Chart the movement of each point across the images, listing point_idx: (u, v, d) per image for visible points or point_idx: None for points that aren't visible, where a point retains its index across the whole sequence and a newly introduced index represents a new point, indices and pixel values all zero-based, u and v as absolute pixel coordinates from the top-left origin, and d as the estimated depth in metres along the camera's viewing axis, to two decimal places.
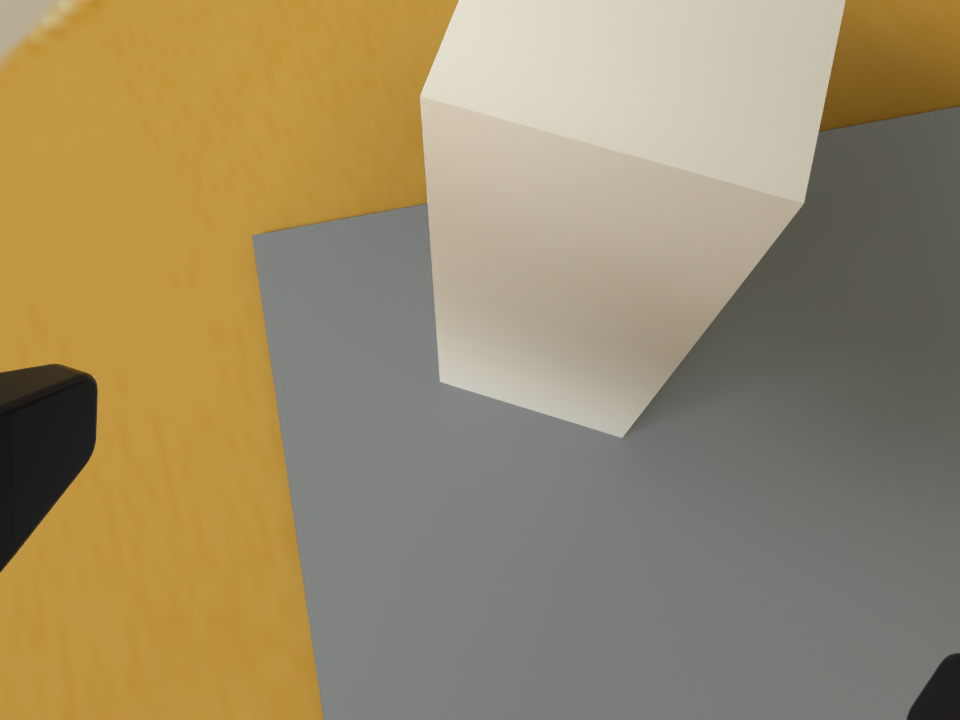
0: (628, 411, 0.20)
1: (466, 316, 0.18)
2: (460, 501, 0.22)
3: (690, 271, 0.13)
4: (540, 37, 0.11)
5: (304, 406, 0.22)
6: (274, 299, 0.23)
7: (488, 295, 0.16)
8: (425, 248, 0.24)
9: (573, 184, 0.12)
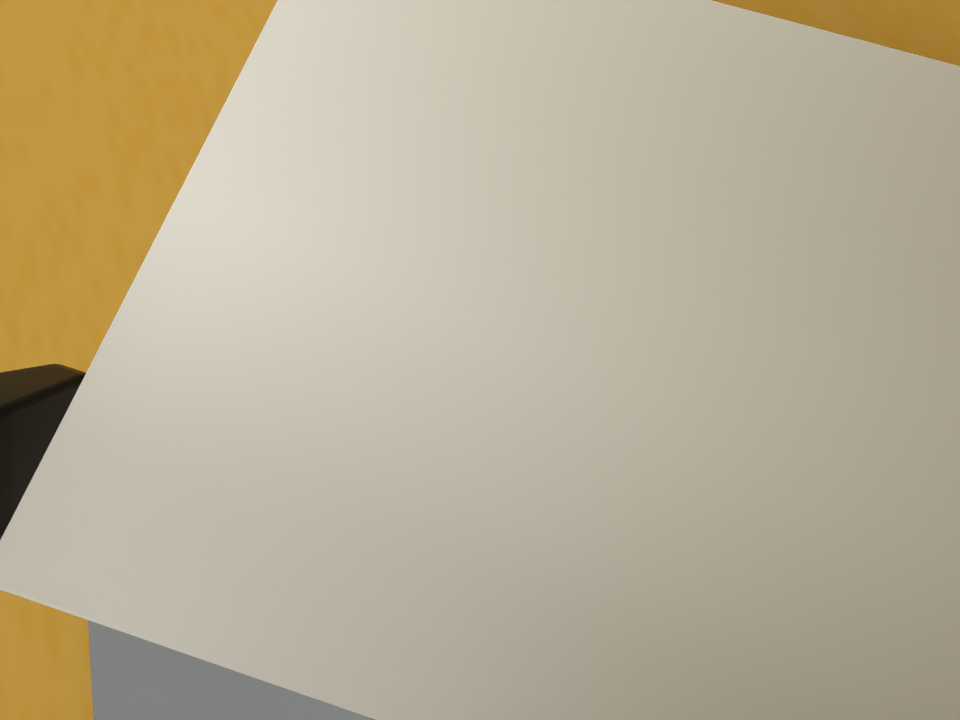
0: None
1: None
2: None
3: None
4: (298, 406, 0.05)
5: (130, 676, 0.16)
6: None
7: None
8: None
9: None
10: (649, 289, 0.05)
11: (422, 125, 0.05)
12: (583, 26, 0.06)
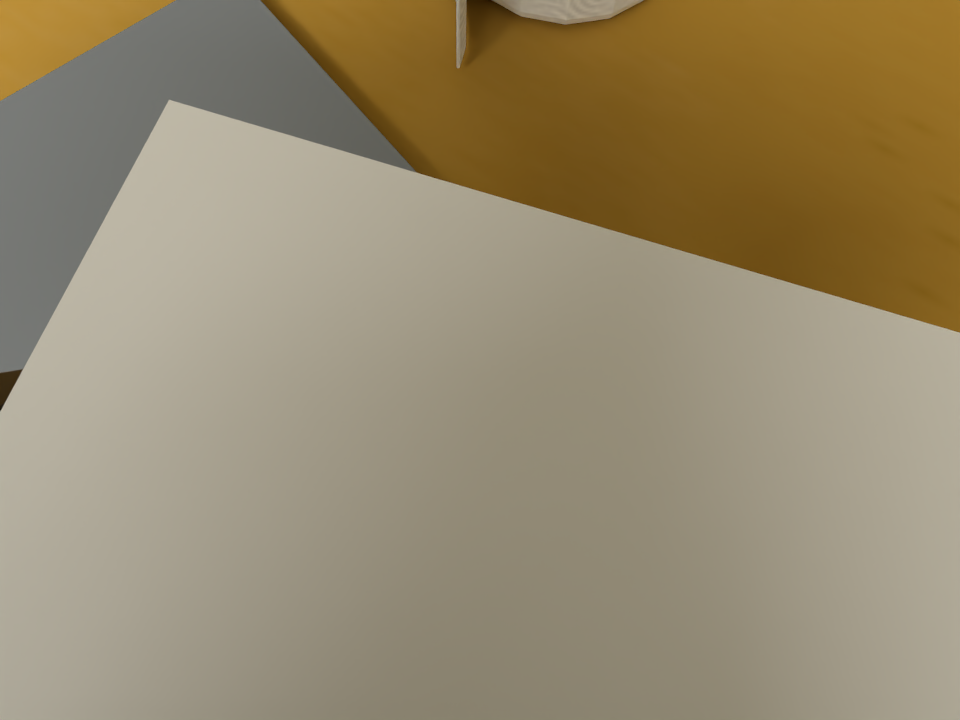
0: None
1: None
2: None
3: None
4: None
5: None
6: None
7: None
8: None
9: None
10: (558, 685, 0.04)
11: (265, 433, 0.04)
12: (487, 282, 0.04)
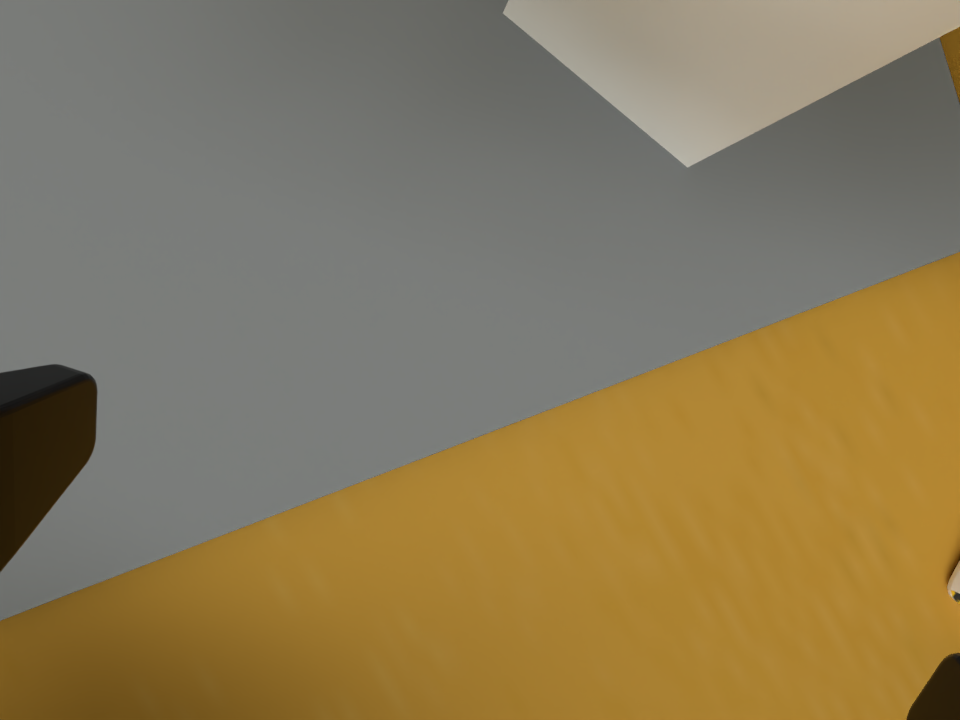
0: (722, 134, 0.16)
1: None
2: None
3: None
4: None
5: None
6: None
7: None
8: None
9: None
10: None
11: None
12: None
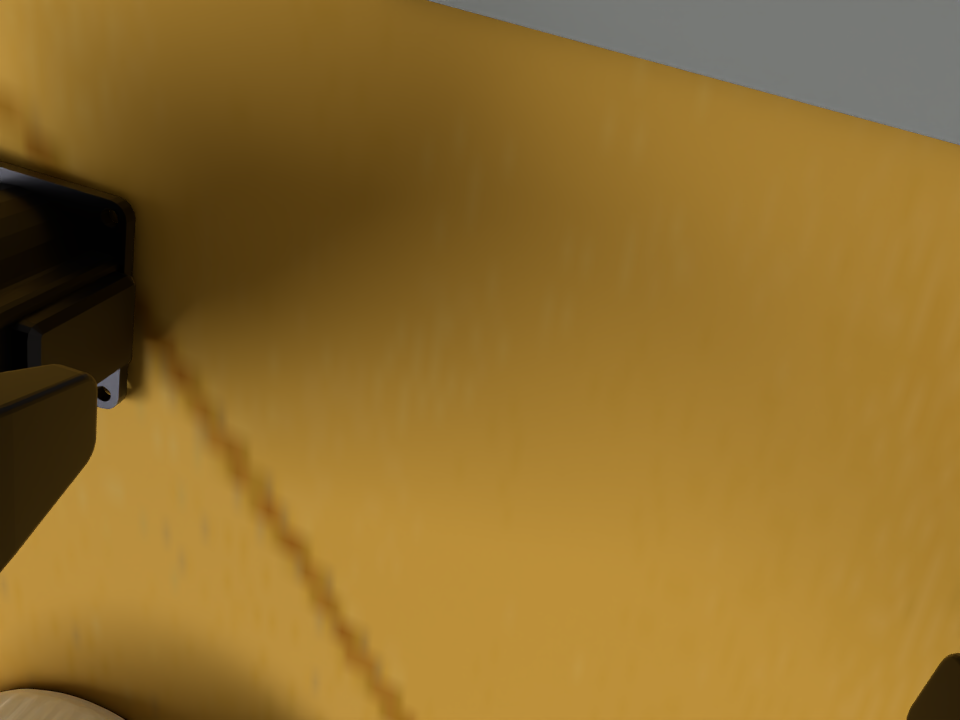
0: None
1: None
2: None
3: None
4: None
5: None
6: None
7: None
8: None
9: None
10: None
11: None
12: None
